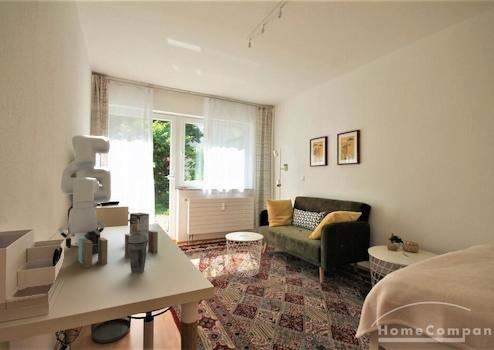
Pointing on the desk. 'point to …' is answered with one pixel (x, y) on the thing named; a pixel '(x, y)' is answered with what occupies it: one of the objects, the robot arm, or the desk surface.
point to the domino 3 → (127, 245)
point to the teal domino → (81, 249)
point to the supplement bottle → (91, 237)
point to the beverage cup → (137, 250)
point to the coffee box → (142, 222)
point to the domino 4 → (152, 241)
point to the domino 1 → (87, 253)
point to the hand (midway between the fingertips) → (82, 245)
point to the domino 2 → (102, 250)
